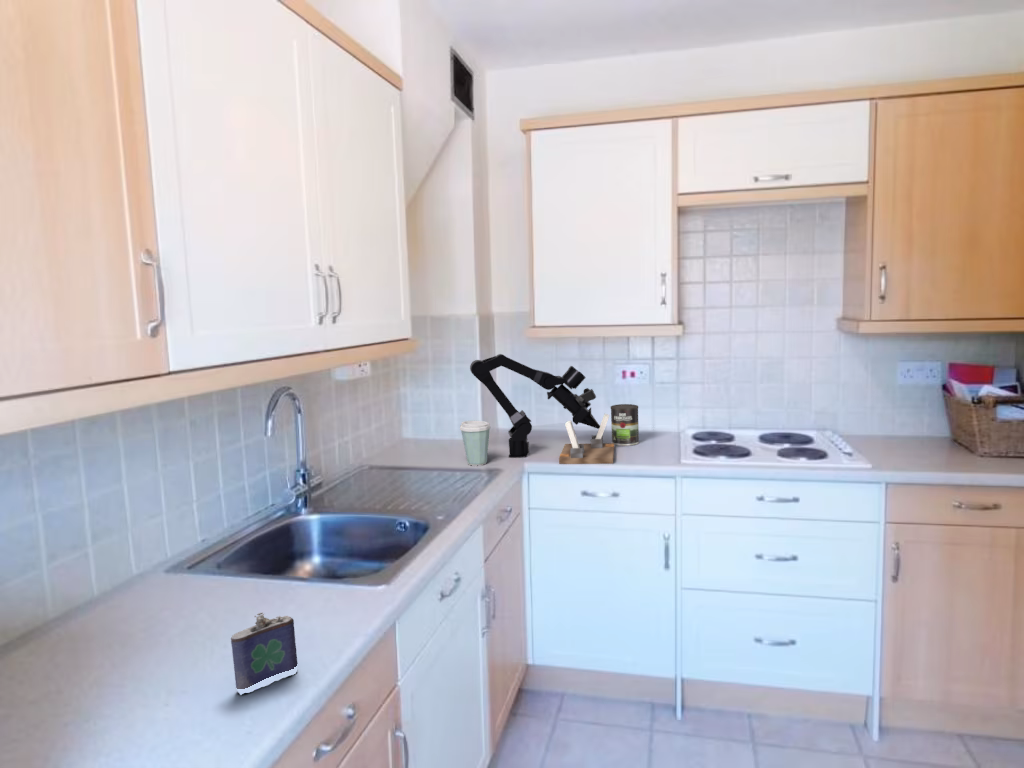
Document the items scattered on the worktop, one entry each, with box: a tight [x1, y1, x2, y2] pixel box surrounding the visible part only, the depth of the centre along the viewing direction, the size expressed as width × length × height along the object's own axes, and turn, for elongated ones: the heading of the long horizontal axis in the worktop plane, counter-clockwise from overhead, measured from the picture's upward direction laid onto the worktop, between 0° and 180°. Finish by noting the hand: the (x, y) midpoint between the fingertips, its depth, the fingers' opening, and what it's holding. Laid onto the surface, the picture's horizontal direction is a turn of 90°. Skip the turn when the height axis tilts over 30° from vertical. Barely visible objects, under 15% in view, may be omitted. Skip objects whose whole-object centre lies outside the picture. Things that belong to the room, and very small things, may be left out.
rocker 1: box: [564, 420, 580, 448], centre depth 223 cm, size 2×4×12 cm, turn 170°
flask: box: [230, 612, 299, 689], centre depth 99 cm, size 9×3×11 cm, turn 129°
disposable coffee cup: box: [459, 420, 491, 467], centre depth 226 cm, size 11×11×15 cm
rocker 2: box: [595, 413, 610, 439], centre depth 235 cm, size 2×4×12 cm, turn 170°
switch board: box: [558, 434, 615, 465], centre depth 229 cm, size 18×22×5 cm
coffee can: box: [610, 403, 640, 447], centre depth 246 cm, size 10×10×14 cm
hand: (599, 427), depth 235 cm, fingers closed, pressing on rocker 2
